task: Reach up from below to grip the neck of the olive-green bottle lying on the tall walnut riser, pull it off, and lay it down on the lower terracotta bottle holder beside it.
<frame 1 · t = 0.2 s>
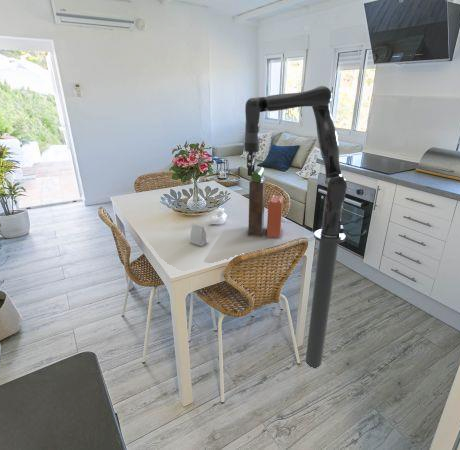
hand: (251, 173, 161), 33 cm above the table, tool pointing down, fingers open, 8 cm apart
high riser: (256, 232, 175), on the table
bust: (219, 224, 186), on the table
bottle: (257, 179, 164), point 30 cm above the table, touching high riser
grey tapered block: (198, 243, 160), on the table
bottle holder: (274, 233, 174), on the table
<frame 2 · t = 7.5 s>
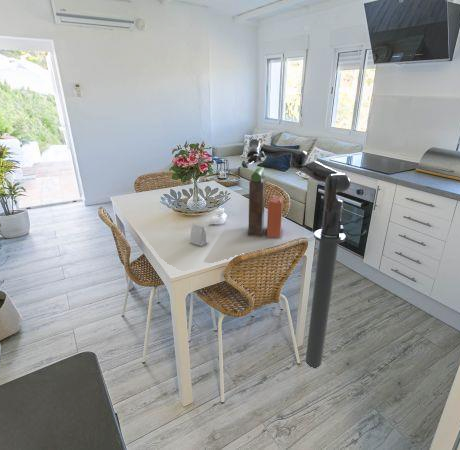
hand: (252, 163, 178), 35 cm above the table, tool horizontal, fingers open, 8 cm apart
nothing on the table moved.
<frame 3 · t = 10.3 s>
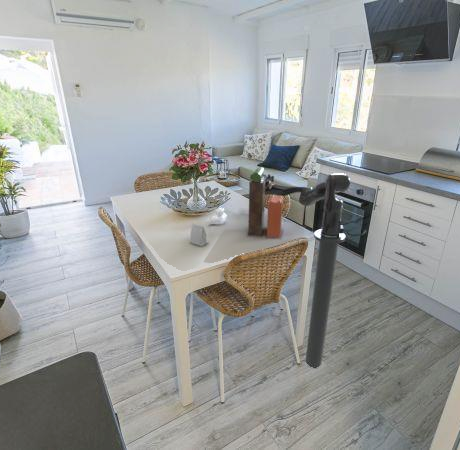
hand: (261, 175, 184), 27 cm above the table, tool pointing upward, fingers open, 8 cm apart
nothing on the table moved.
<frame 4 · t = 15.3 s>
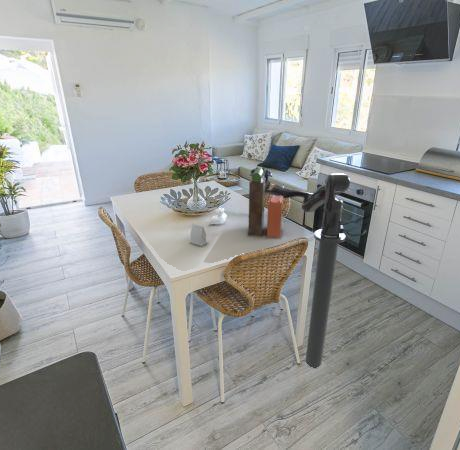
hand: (259, 168, 170), 34 cm above the table, tool pointing upward, fingers closed on bottle, 2 cm apart
bottle: (257, 179, 164), point 30 cm above the table, touching gripper, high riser
everything else where it was.
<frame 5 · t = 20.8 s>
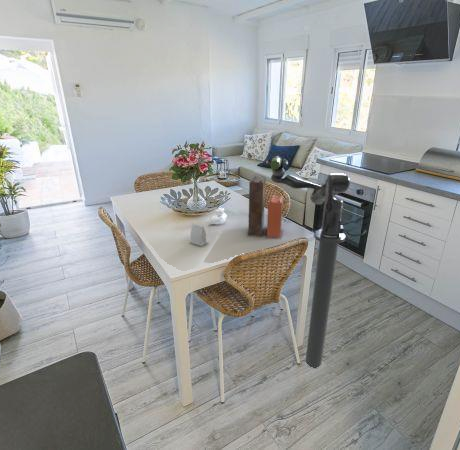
hand: (276, 157, 179), 38 cm above the table, tool pointing upward, fingers closed on bottle, 2 cm apart
bottle: (275, 167, 174), point 34 cm above the table, touching gripper
everything else where it was.
when the fingers open (24 cm above the table, at t = 26.5 s): bottle stays where it is, resting on bottle holder.
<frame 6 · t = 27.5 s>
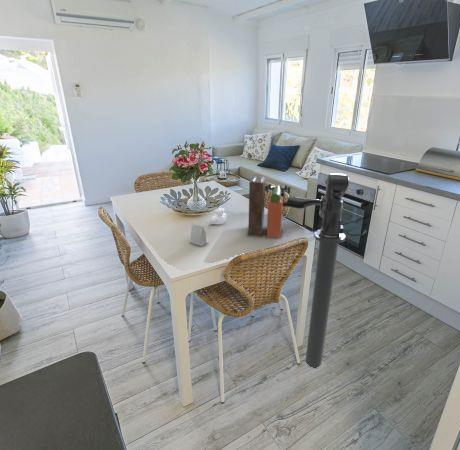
hand: (277, 186, 172), 25 cm above the table, tool pointing upward, fingers open, 8 cm apart
bottle: (275, 198, 166), point 20 cm above the table, touching bottle holder
everything else where it was.
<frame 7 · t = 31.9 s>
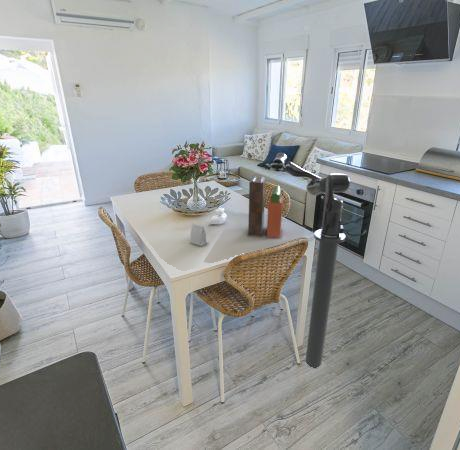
hand: (276, 168, 183), 31 cm above the table, tool horizontal, fingers open, 8 cm apart
nothing on the table moved.
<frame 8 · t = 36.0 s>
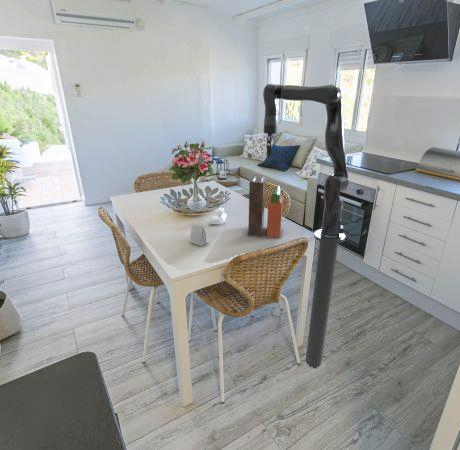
hand: (269, 154, 177), 40 cm above the table, tool pointing down, fingers open, 8 cm apart
nothing on the table moved.
at the end: bottle inside the target area on the bottle holder (0.2 cm from its centre), point 20.0 cm above the bottle holder's base; bottle touching bottle holder; the gripper is holding nothing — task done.
